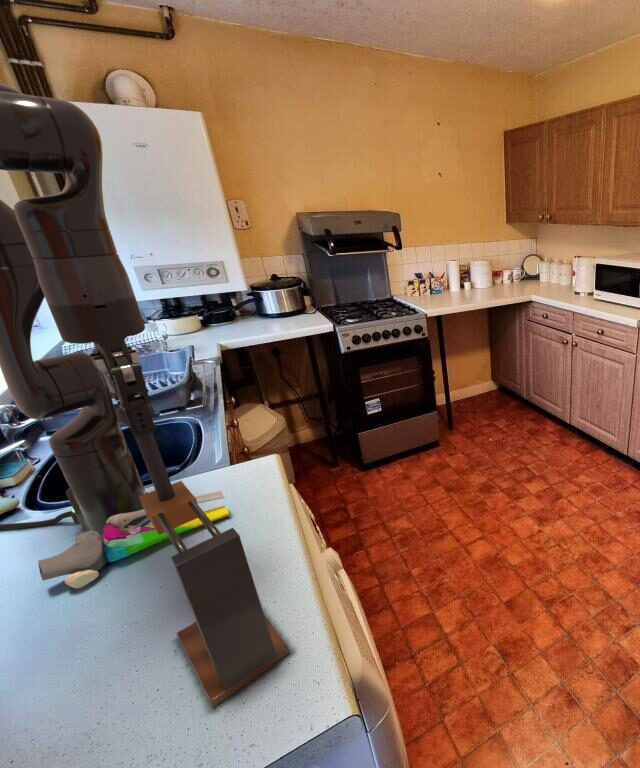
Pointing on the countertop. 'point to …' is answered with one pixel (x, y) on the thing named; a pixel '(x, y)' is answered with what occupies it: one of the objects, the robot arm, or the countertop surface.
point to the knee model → (113, 545)
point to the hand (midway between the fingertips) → (141, 428)
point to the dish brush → (161, 485)
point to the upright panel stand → (222, 612)
